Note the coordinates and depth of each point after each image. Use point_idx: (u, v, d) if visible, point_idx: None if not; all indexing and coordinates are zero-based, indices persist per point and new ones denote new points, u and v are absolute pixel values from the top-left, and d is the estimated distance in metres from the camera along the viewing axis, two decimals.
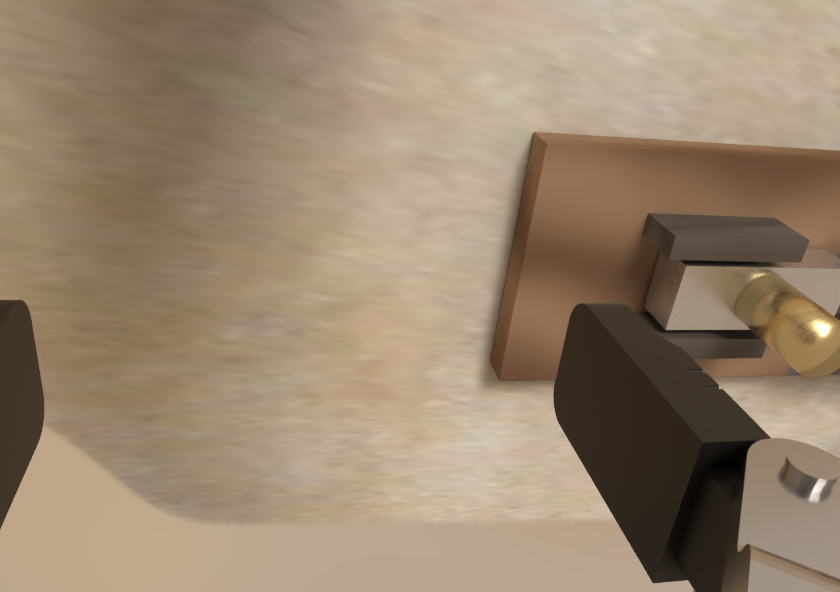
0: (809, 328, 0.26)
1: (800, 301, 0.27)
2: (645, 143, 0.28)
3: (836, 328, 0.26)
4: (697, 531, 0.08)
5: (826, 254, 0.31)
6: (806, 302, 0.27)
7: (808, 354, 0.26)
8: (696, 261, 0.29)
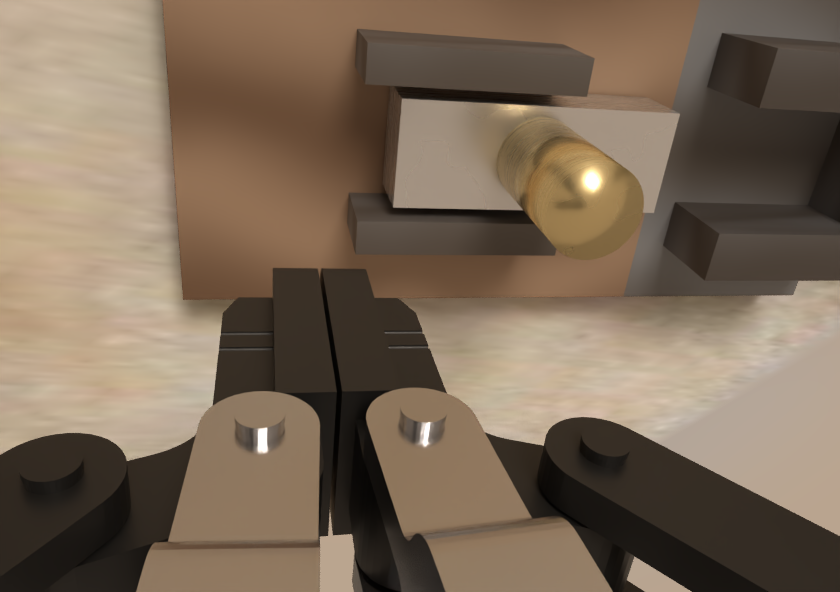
0: (563, 172, 0.16)
1: (566, 142, 0.17)
2: None
3: (605, 169, 0.16)
4: (354, 481, 0.08)
5: (645, 101, 0.21)
6: (574, 142, 0.17)
7: (566, 216, 0.16)
8: (425, 96, 0.19)
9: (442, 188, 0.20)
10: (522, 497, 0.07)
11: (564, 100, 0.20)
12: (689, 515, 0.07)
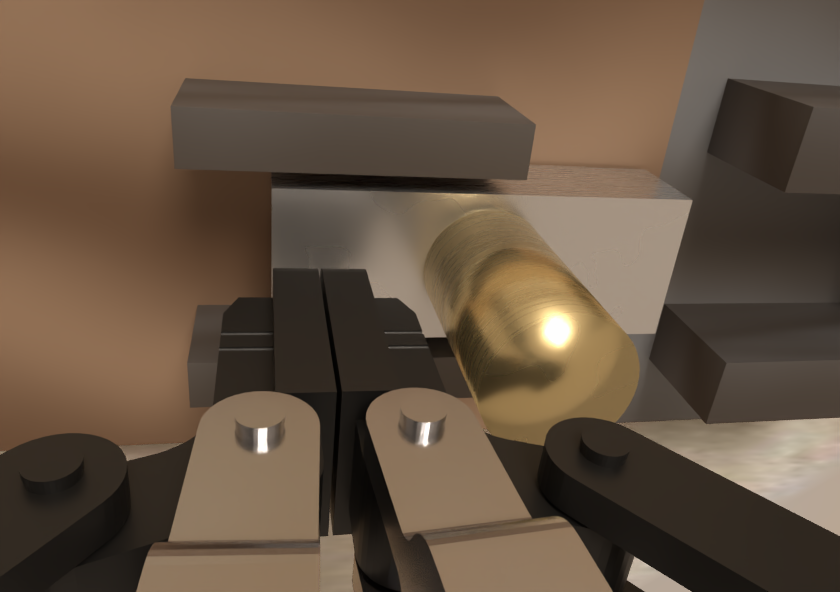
0: (507, 325, 0.10)
1: (517, 263, 0.11)
2: None
3: (575, 324, 0.10)
4: (354, 481, 0.08)
5: (642, 177, 0.15)
6: (530, 263, 0.11)
7: (512, 395, 0.10)
8: (311, 181, 0.13)
9: None
10: (522, 497, 0.07)
11: (524, 180, 0.14)
12: (689, 515, 0.07)
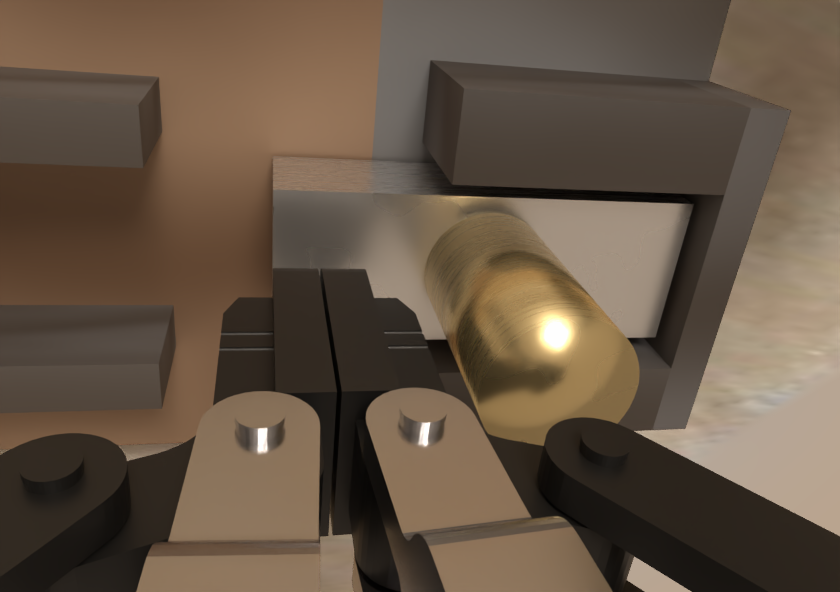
0: (507, 328, 0.10)
1: (517, 266, 0.11)
2: None
3: (575, 328, 0.10)
4: (354, 481, 0.08)
5: None
6: (531, 266, 0.11)
7: (512, 398, 0.10)
8: (313, 183, 0.13)
9: None
10: (522, 497, 0.07)
11: None
12: (688, 515, 0.07)
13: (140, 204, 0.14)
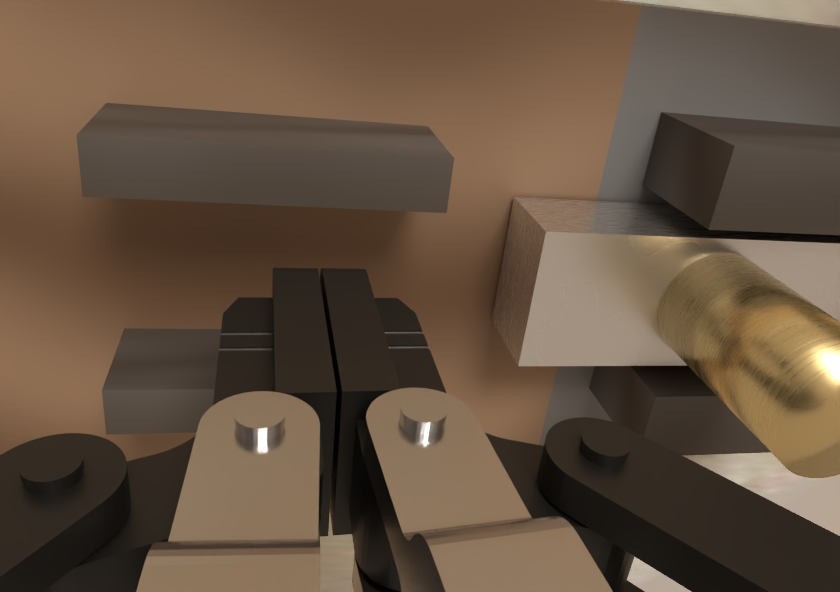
0: (807, 364, 0.11)
1: (786, 305, 0.12)
2: None
3: None
4: (354, 481, 0.08)
5: None
6: (798, 306, 0.12)
7: (806, 425, 0.11)
8: (571, 224, 0.14)
9: (584, 341, 0.15)
10: (522, 497, 0.07)
11: None
12: (689, 515, 0.07)
13: (391, 239, 0.15)
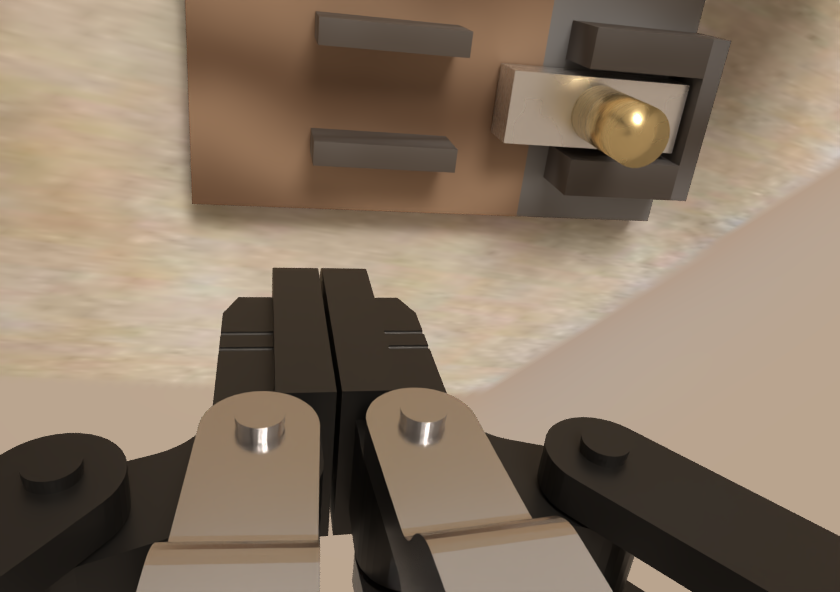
0: (622, 111, 0.27)
1: (621, 96, 0.28)
2: None
3: (647, 109, 0.26)
4: (354, 481, 0.08)
5: (666, 79, 0.32)
6: (626, 96, 0.28)
7: (623, 138, 0.27)
8: (528, 70, 0.29)
9: (535, 131, 0.30)
10: (522, 497, 0.07)
11: (614, 76, 0.31)
12: (689, 515, 0.07)
13: (441, 84, 0.31)
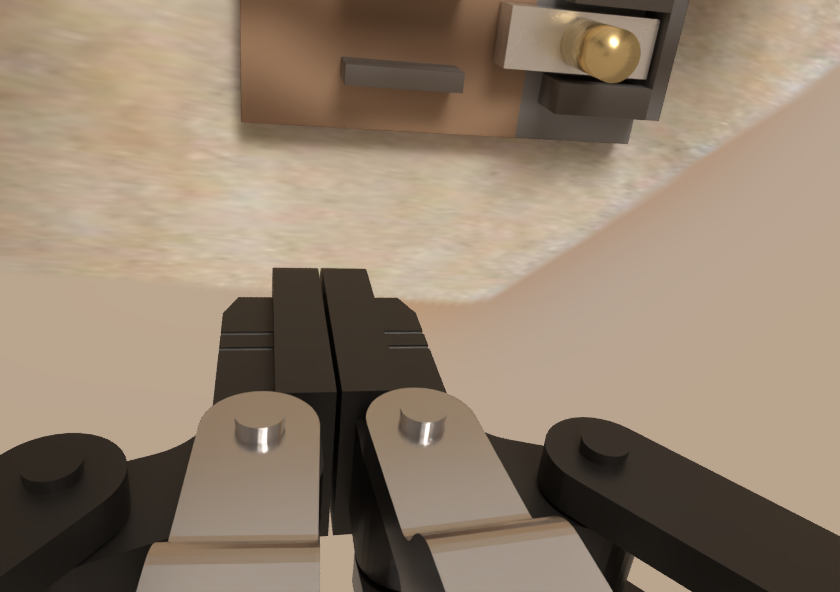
0: (600, 34, 0.32)
1: (600, 24, 0.34)
2: None
3: (621, 32, 0.32)
4: (354, 481, 0.08)
5: (641, 15, 0.37)
6: (605, 24, 0.34)
7: (602, 57, 0.33)
8: (523, 5, 0.35)
9: (530, 58, 0.36)
10: (522, 497, 0.07)
11: (597, 12, 0.36)
12: (689, 515, 0.07)
13: (450, 19, 0.36)
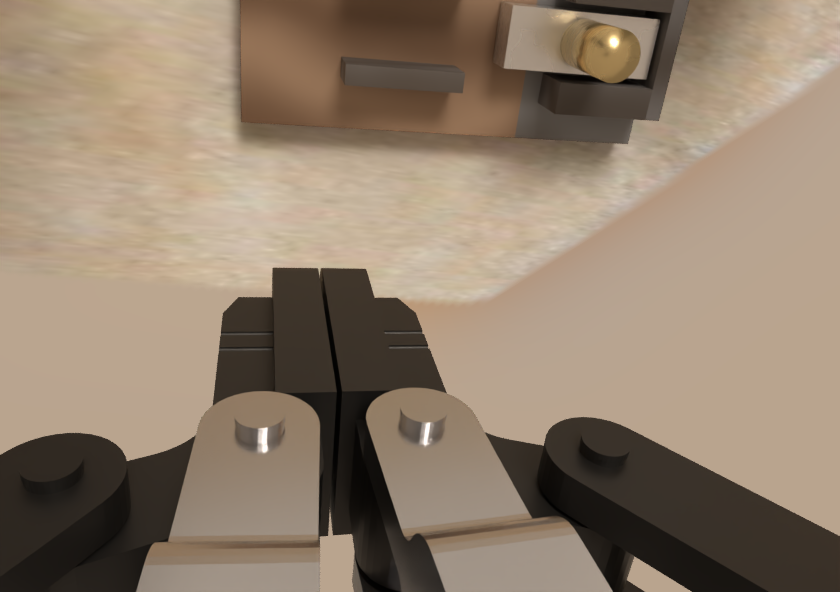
0: (600, 34, 0.32)
1: (600, 24, 0.34)
2: None
3: (621, 32, 0.32)
4: (354, 481, 0.08)
5: (641, 15, 0.37)
6: (605, 24, 0.34)
7: (602, 57, 0.33)
8: (523, 5, 0.35)
9: (530, 58, 0.36)
10: (522, 497, 0.07)
11: (597, 12, 0.36)
12: (689, 515, 0.07)
13: (450, 19, 0.36)
